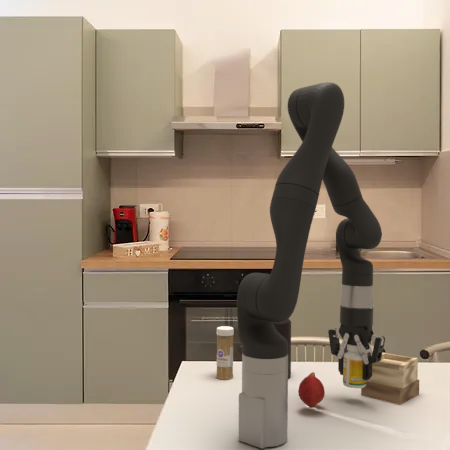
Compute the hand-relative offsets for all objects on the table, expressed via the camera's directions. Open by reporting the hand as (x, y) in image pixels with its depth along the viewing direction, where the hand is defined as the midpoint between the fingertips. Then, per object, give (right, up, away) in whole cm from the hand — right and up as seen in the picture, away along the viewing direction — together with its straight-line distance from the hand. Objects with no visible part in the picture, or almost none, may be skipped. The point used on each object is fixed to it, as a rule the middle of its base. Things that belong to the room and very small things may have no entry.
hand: (354, 376), depth 136 cm
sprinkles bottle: (-30, -5, +19) cm, 36 cm away
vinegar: (-16, -5, +20) cm, 26 cm away
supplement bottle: (0, -2, 0) cm, 2 cm away
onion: (-11, -6, -4) cm, 13 cm away
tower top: (+10, -2, +5) cm, 11 cm away
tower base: (+10, -6, +5) cm, 13 cm away
